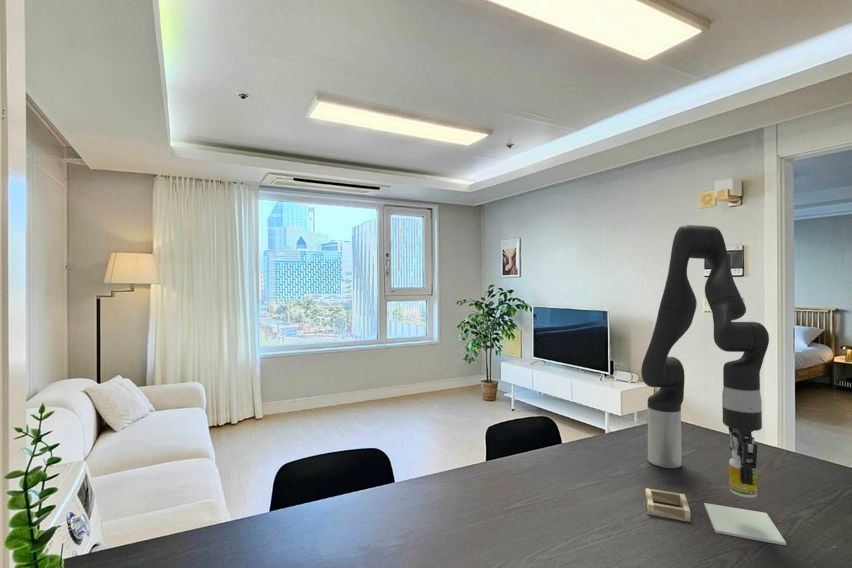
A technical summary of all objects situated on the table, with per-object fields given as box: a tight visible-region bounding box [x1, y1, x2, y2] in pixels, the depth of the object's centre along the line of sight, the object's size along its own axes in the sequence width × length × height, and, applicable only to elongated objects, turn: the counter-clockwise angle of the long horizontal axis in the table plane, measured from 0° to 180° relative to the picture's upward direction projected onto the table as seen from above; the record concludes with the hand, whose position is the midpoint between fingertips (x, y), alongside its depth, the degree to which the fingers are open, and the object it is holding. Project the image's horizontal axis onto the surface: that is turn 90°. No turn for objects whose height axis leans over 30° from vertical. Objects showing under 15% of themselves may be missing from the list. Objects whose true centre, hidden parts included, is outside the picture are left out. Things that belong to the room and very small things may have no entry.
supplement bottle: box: [728, 449, 758, 499], centre depth 103 cm, size 5×5×10 cm
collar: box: [645, 487, 691, 523], centre depth 110 cm, size 9×9×2 cm
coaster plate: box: [703, 502, 787, 546], centre depth 103 cm, size 13×13×1 cm
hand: (742, 477), depth 103 cm, fingers closed on supplement bottle, 5 cm apart
